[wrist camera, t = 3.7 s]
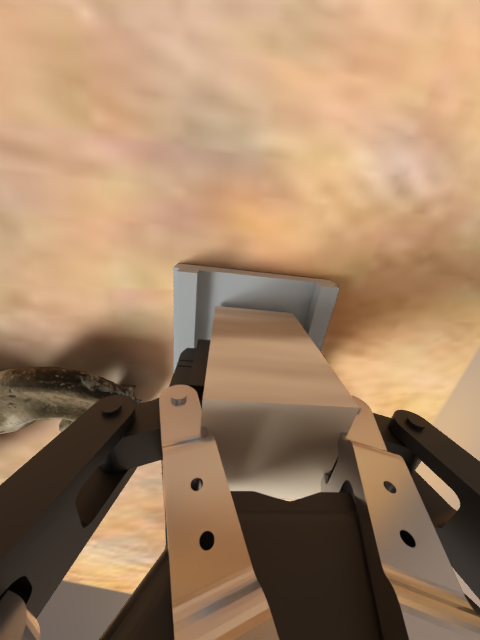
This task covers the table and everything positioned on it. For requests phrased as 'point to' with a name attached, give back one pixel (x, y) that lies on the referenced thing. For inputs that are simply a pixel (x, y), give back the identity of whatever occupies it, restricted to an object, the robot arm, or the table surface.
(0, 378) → the pulley block
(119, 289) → the table surface
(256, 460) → the block
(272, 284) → the rail
